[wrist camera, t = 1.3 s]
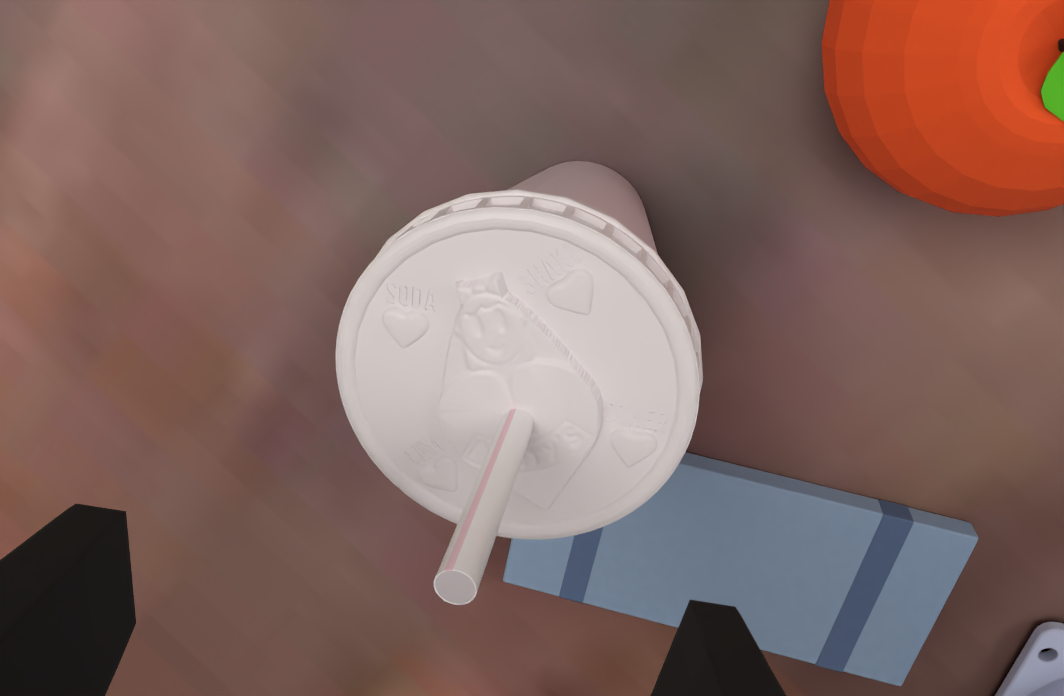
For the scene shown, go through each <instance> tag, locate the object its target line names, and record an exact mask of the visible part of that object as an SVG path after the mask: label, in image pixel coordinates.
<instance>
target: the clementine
mask: <svg viewBox="0 0 1064 696" xmlns="http://www.w3.org/2000/svg"><path fill="white" fill-rule="evenodd" d="M822 57H823V73H824V88H825V94H826V97H827V99H828V102H829V105H830V108H831V111H832V113H833V116H834V119H835V122H836V124H837V127H838V130H839V133H840V134H841V135H842V137H843V138H844V139H845V141H846V142H847V143H848V145H849V146H850V148H851V149H852V150H853V152H854V153H855V154H856V156H857V157H858V158H859V160H860V161H861V162H862V164H863V165H864V166H865V167H866V168H867V169H869V170H870V171H871V172H873V173H874V174H876V175H877V176H878V177H880V178H881V179H882V180H884V181H885V182H886V183H888V184H889V185H890V186H892V187H893V188H894V189H896V190H897V191H899V192H901V193H904V194H906V195H908V196H911V197H913V198H916V199H919V200H922V201H924V202H927V203H930V204H932V205H935V206H938V207H940V208H943V209H946V210H948V211H951V212H957V213H967V214H977V215H987V216H997V217H999V216H1007V215H1014V214H1021V213H1029V212H1036V211H1043V210H1048V209H1051V208H1054V207H1057V206H1059V205H1062V204H1064V0H830V1H829V6H828V11H827V16H826V22H825V27H824V32H823V37H822Z"/></svg>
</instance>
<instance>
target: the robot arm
mask: <svg viewBox="0 0 1064 696" xmlns="http://www.w3.org/2000/svg"><path fill="white" fill-rule="evenodd" d="M135 624H136V617H135V606H134V595H133V584H132V573H131V562H130V551H129V540H128V530H127V519H126V511H120V510H113V509H107V508H101V507H94V506H88V505H81V504H75V505H73V506H72V507H70V508H69V509H67V510H66V511H64V512H63V513H62V514H60V515H59V516H58V517H56V518H55V519H54V520H52V521H51V522H50V523H48V524H47V525H46V526H44V527H43V528H42V529H41V530H39V531H38V532H37V533H35V534H34V535H33V536H31V537H30V538H29V539H27V540H26V541H25V542H23V543H22V544H21V545H20V546H18V547H17V548H16V549H14V550H13V551H12V552H10V553H9V554H8V555H6V556H5V557H4V558H2V559H1V560H0V696H105V694H106V692H107V690H108V687H109V685H110V683H111V681H112V678H113V676H114V674H115V672H116V669H117V667H118V665H119V663H120V660H121V658H122V655H123V653H124V651H125V648H126V646H127V643H128V641H129V639H130V636H131V634H132V631H133V629H134V627H135ZM1046 648H1051V649H1050V650H1049V651H1046V652H1040V651H1041V650H1043V649H1046ZM651 696H786V695H785V693H784V691H783V689H782V688H781V686H780V684H779V682H778V681H777V679H776V677H775V675H774V674H773V672H772V670H771V668H770V666H769V665H768V663H767V661H766V659H765V658H764V656H763V654H762V652H761V650H760V649H759V647H758V645H757V643H756V641H755V639H754V638H753V636H752V634H751V632H750V630H749V629H748V627H747V625H746V623H745V621H744V620H743V618H742V616H741V614H740V613H739V611H738V610H737V608H736V607H735V606H728V605H722V604H715V603H709V602H703V601H696V600H689V603H688V605H687V608H686V610H685V613H684V615H683V617H682V620H681V622H680V625H679V627H678V630H677V632H676V635H675V637H674V640H673V642H672V645H671V647H670V650H669V652H668V654H667V657H666V659H665V662H664V664H663V667H662V669H661V672H660V674H659V677H658V679H657V682H656V684H655V687H654V689H653V691H652V694H651ZM995 696H1064V624H1063V623H1059V622H1046V623H1043V624H1041V625H1039V626H1038V627H1037V628H1036V629H1035V630H1034V631H1033V633H1032V634H1031V636H1030V638H1029V639H1028V641H1027V643H1026V644H1025V646H1024V648H1023V649H1022V651H1021V653H1020V654H1019V656H1018V658H1017V660H1016V661H1015V663H1014V665H1013V666H1012V668H1011V670H1010V671H1009V673H1008V675H1007V676H1006V678H1005V680H1004V681H1003V683H1002V685H1001V686H1000V688H999V690H998V691H997V693H996V695H995Z"/></svg>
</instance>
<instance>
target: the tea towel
mask: <svg viewBox="0 0 1064 696" xmlns="http://www.w3.org/2000/svg"><path fill="white" fill-rule="evenodd" d="M977 541H978V536H977V534H976V532H975V530H974V528H973V526H972V524H971V523H969V522H966V521H962V520H958V519H954V518H950V517H946V516H942V515H938V514H934V513H930V512H926V511H921V510H917V509H913V508H909V507H908V506H905V505H901V504H897V503H893V502H889V501H885V500H881V499H878V500H877V499H873V498H869V497H865V496H861V495H857V494H853V493H849V492H845V491H841V490H837V489H833V488H829V487H824V486H820V485H816V484H812V483H808V482H804V481H800V480H796V479H792V478H788V477H784V476H780V475H776V474H772V473H768V472H764V471H760V470H756V469H752V468H748V467H744V466H740V465H736V464H732V463H727V462H723V461H719V460H715V459H711V458H707V457H703V456H699V455H695V454H691V453H687V452H685V454H684V456H683V457H682V459H681V461H680V463H679V465H678V466H677V468H676V469H675V471H674V472H673V473H672V475H671V476H670V478H669V479H668V480H667V481H666V483H665V484H664V485H663V486H662V487H661V488H660V489H659V490H658V491H657V492H656V493H655V494H654V495H653V496H652V497H651V498H650V499H649V500H647V501H646V502H645V503H644V504H642V505H641V506H640V507H638V508H637V509H636V510H634V511H633V512H631V513H629V514H628V515H626V516H624V517H623V518H621V519H619V520H617V521H615V522H613V523H611V524H608V525H606V526H604V527H601V528H598V529H596V530H593V531H590V532H586V533H582V534H578V535H574V536H568V537H562V538H554V539H516V538H512V539H511V543H510V548H509V553H508V557H507V562H506V567H505V571H504V576H503V581H504V582H506V583H510V584H514V585H518V586H522V587H525V588H529V589H533V590H537V591H540V592H544V593H548V594H552V595H556V596H559V597H561V598H565V599H568V600H572V601H576V602H580V603H586V604H590V605H594V606H597V607H601V608H605V609H609V610H612V611H616V612H620V613H624V614H628V615H631V616H635V617H639V618H643V619H647V620H650V621H654V622H658V623H662V624H665V625H669V626H673V627H677V628H678V627H679V625H680V622H681V620H682V617H683V615H684V613H685V610H686V608H687V605H688V603H689V600H696V601H703V602H709V603H715V604H722V605H728V606H735V607H736V608H737V610H738V611H739V613H740V614H741V616H742V618H743V620H744V621H745V623H746V625H747V627H748V629H749V630H750V632H751V634H752V636H753V638H754V639H755V641H756V643H757V645H758V647H759V649H760V650H764V651H768V652H772V653H775V654H779V655H783V656H787V657H790V658H794V659H798V660H802V661H806V662H809V663H813V664H815V665H816V666H820V667H823V668H827V669H831V670H835V671H839V672H843V671H844V672H847V673H851V674H855V675H859V676H862V677H866V678H870V679H874V680H878V681H881V682H885V683H889V684H893V685H897V686H902V684H903V682H904V680H905V678H906V676H907V674H908V672H909V671H910V669H911V667H912V665H913V663H914V661H915V659H916V657H917V655H918V653H919V652H920V650H921V648H922V646H923V644H924V642H925V640H926V638H927V636H928V634H929V633H930V631H931V629H932V627H933V625H934V623H935V621H936V619H937V617H938V615H939V613H940V612H941V610H942V608H943V606H944V604H945V602H946V600H947V598H948V596H949V594H950V593H951V591H952V589H953V587H954V585H955V583H956V581H957V579H958V577H959V575H960V574H961V572H962V570H963V568H964V566H965V564H966V562H967V560H968V558H969V556H970V555H971V553H972V551H973V549H974V547H975V545H976V543H977Z"/></svg>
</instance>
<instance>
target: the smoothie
mask: <svg viewBox="0 0 1064 696" xmlns="http://www.w3.org/2000/svg"><path fill="white" fill-rule="evenodd" d="M336 374H337V381H338V387H339V392H340V396H341V400H342V403H343V406H344V409H345V412H346V415H347V418H348V420H349V422H350V424H351V426H352V429H353V431H354V433H355V434H356V436H357V438H358V440H359V441H360V443H361V445H362V446H363V448H364V449H365V451H366V452H367V454H368V455H369V457H370V458H371V459H372V461H373V462H374V463H375V464H376V465H377V467H378V468H379V469H380V470H381V471H382V472H383V473H384V475H385V476H386V477H387V478H388V479H389V480H390V481H391V482H392V483H393V484H395V485H396V486H397V487H398V488H399V489H400V490H401V491H403V492H404V493H405V494H406V495H408V496H409V497H410V498H412V499H413V500H414V501H416V502H417V503H418V504H420V505H422V506H423V507H425V508H426V509H428V510H430V511H431V512H433V513H435V514H437V515H439V516H441V517H443V518H445V519H446V520H449V521H451V522H453V523H456V524H457V527H456V529H455V532H454V534H453V536H452V539H451V541H450V543H449V546H448V548H447V551H446V553H445V555H444V558H443V560H442V563H441V565H440V567H439V570H438V572H437V574H436V577H435V579H434V589H435V591H436V593H437V594H438V596H439V597H441V598H442V599H443V600H444V601H446V602H448V603H451V604H456V605H463V604H467V603H469V602H471V601H472V600H473V599H474V598H475V596H476V593H477V590H478V587H479V584H480V582H481V579H482V576H483V573H484V570H485V567H486V564H487V561H488V558H489V555H490V552H491V549H492V547H493V544H494V541H495V538H496V536H501V537H507V538H516V539H554V538H562V537H568V536H574V535H578V534H582V533H586V532H590V531H593V530H596V529H598V528H601V527H604V526H606V525H608V524H611V523H613V522H615V521H617V520H619V519H621V518H623V517H624V516H626V515H628V514H629V513H631V512H633V511H634V510H636V509H637V508H638V507H640V506H641V505H642V504H644V503H645V502H646V501H647V500H649V499H650V498H651V497H652V496H653V495H654V494H655V493H656V492H657V491H658V490H659V489H660V488H661V487H662V486H663V485H664V484H665V483H666V481H667V480H668V479H669V478H670V476H671V475H672V473H673V472H674V471H675V469H676V468H677V466H678V465H679V463H680V461H681V459H682V457H683V456H684V454H685V452H686V449H687V447H688V445H689V442H690V440H691V437H692V434H693V431H694V427H695V424H696V419H697V413H698V408H699V395H700V390H701V386H702V382H703V370H702V355H701V339H700V333H699V330H698V327H697V325H696V322H695V319H694V317H693V314H692V311H691V308H690V306H689V303H688V300H687V298H686V295H685V292H684V290H683V289H682V287H681V286H680V284H679V283H678V282H677V280H676V279H675V278H674V276H673V275H672V273H671V272H670V271H669V269H668V268H667V267H666V265H665V264H664V262H663V261H662V260H661V258H660V257H659V256H658V253H657V250H656V246H655V243H654V239H653V236H652V232H651V229H650V226H649V222H648V219H647V215H646V212H645V208H644V206H643V203H642V201H641V199H640V197H639V195H638V193H637V192H636V190H635V189H634V188H633V186H632V185H631V184H630V183H629V182H628V181H627V180H626V179H625V178H624V177H622V176H621V175H620V174H618V173H617V172H616V171H614V170H612V169H610V168H608V167H606V166H603V165H600V164H597V163H593V162H587V161H570V162H564V163H560V164H557V165H554V166H552V167H549V168H548V169H546V170H544V171H542V172H540V173H538V174H536V175H534V176H532V177H530V178H528V179H527V180H525V181H523V182H521V183H519V184H517V185H515V186H513V187H511V188H509V189H507V190H504V191H494V192H484V193H474V194H467V195H464V196H462V197H459V198H457V199H454V200H452V201H449V202H447V203H444V204H441V205H439V206H436V207H434V208H431V209H429V210H426V211H424V212H422V213H421V214H420V215H419V216H417V217H416V218H415V219H413V220H412V221H411V222H410V223H408V224H407V225H406V226H404V227H403V228H402V229H401V230H399V231H398V232H397V233H395V234H394V235H393V236H392V237H390V238H389V239H388V240H387V242H386V243H385V244H384V246H383V247H382V249H381V250H380V252H379V253H378V254H377V256H376V257H375V259H374V260H373V261H372V262H371V263H370V264H369V265H368V267H367V268H366V269H365V271H364V272H363V274H362V275H361V276H360V278H359V279H358V281H357V283H356V284H355V286H354V288H353V290H352V291H351V293H350V295H349V298H348V300H347V302H346V305H345V307H344V310H343V313H342V317H341V320H340V324H339V329H338V334H337V342H336Z"/></svg>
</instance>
